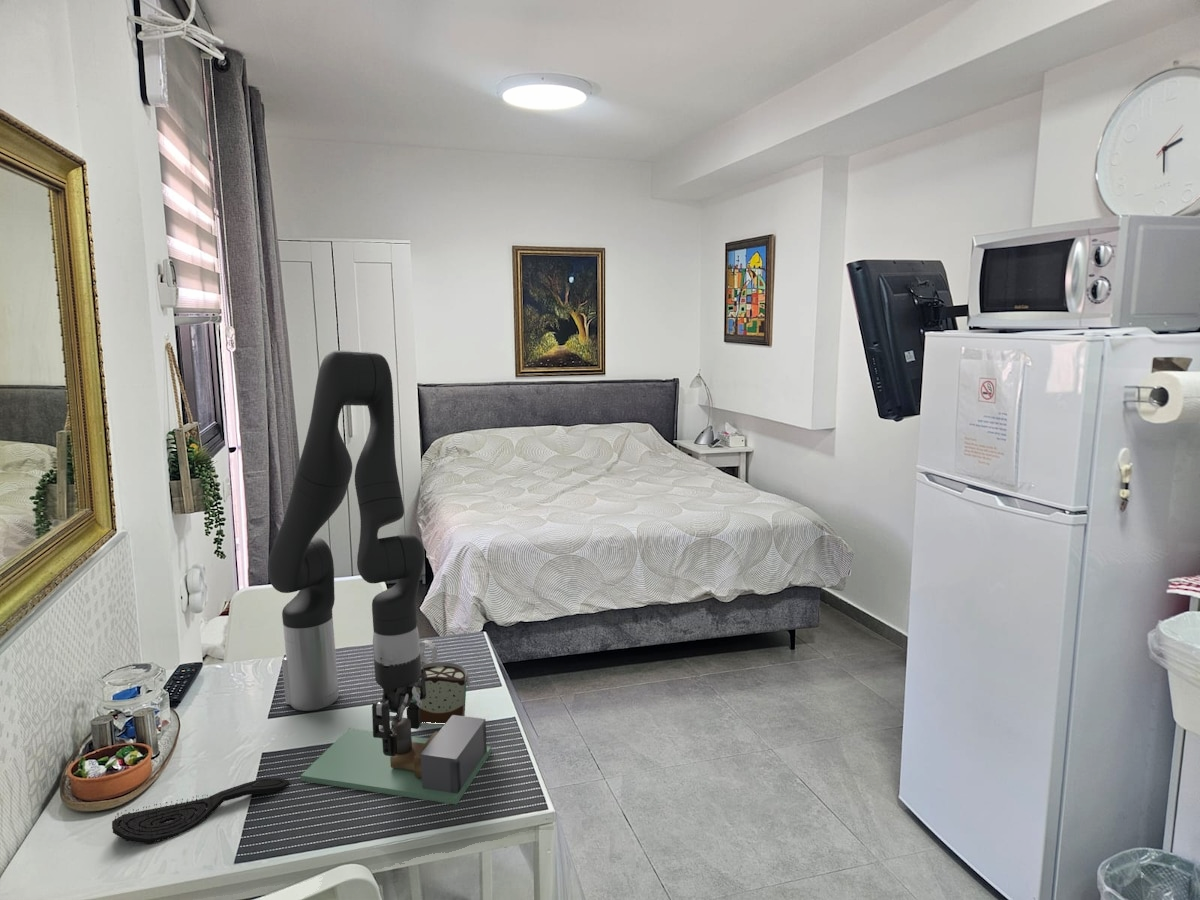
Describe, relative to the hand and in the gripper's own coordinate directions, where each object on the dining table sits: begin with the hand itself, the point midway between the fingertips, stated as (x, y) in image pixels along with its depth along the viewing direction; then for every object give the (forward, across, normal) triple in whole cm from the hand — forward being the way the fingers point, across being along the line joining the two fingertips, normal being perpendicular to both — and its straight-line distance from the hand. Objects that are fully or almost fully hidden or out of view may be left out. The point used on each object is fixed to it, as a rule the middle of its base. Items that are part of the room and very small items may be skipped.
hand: (402, 740), depth 134 cm
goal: (+5, 0, +10) cm, 11 cm away
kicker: (+4, 0, +2) cm, 4 cm away
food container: (+5, -17, 0) cm, 18 cm away
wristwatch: (+5, -37, -14) cm, 40 cm away
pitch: (+5, 0, -1) cm, 5 cm away
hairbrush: (+6, +18, -25) cm, 31 cm away
